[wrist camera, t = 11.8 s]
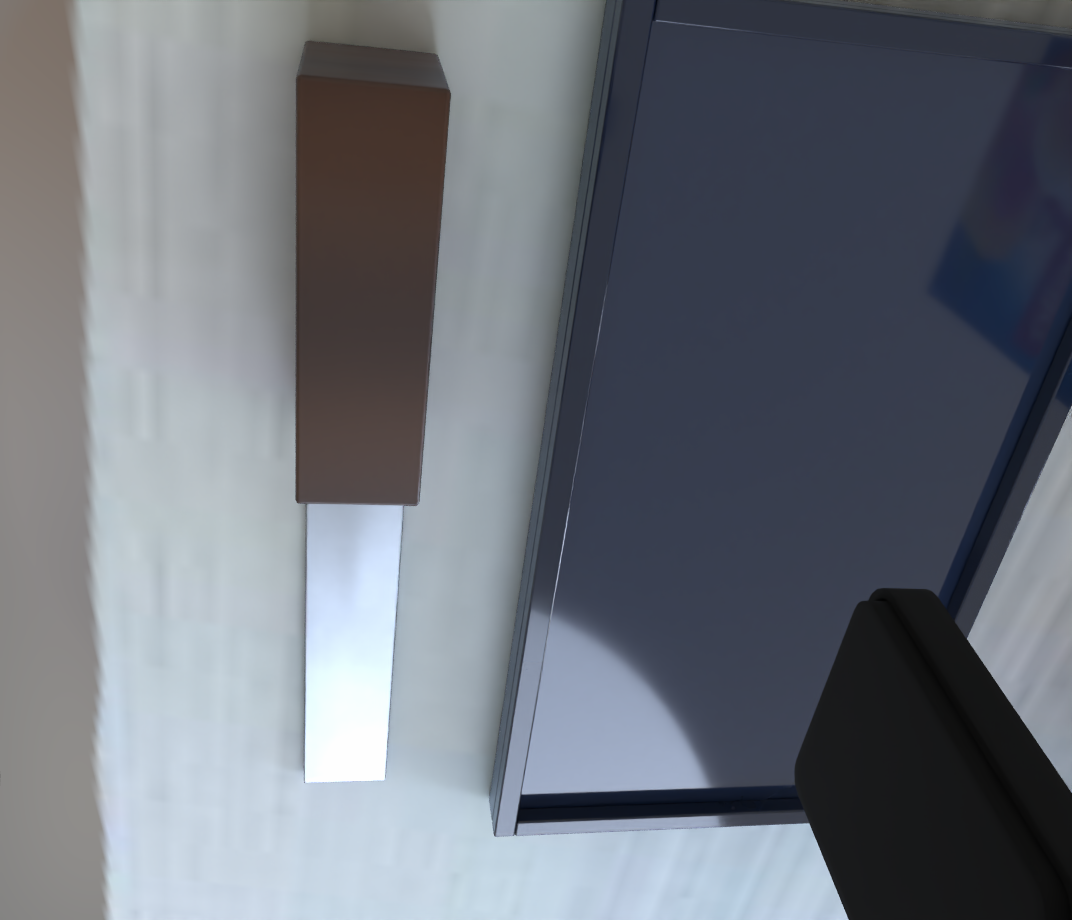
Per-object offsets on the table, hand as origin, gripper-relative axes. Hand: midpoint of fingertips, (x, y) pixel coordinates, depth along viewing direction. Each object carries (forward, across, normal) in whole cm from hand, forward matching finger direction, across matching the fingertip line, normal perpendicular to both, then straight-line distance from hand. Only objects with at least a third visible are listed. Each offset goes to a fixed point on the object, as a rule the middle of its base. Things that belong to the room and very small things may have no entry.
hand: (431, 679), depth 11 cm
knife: (+12, +1, +6) cm, 13 cm away
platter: (+12, -9, +5) cm, 16 cm away
